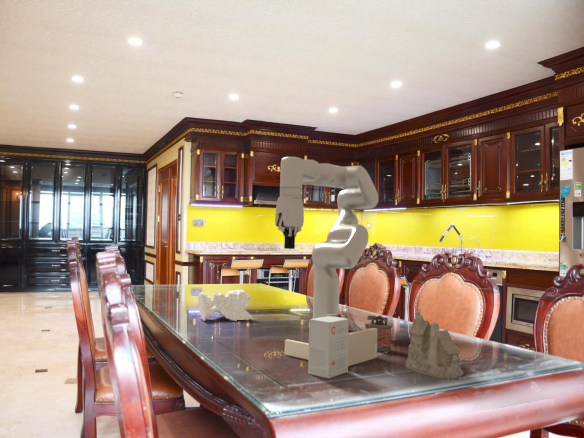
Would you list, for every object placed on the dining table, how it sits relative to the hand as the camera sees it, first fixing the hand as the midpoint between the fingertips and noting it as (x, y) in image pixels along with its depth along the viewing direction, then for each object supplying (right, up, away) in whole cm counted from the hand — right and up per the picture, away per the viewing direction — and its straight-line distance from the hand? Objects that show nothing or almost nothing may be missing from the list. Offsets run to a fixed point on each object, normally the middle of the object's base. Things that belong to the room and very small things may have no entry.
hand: (289, 248), depth 164 cm
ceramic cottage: (+38, -29, -38) cm, 61 cm away
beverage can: (+12, -28, -29) cm, 42 cm away
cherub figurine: (-26, -30, +31) cm, 51 cm away
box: (+12, -28, -28) cm, 41 cm away
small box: (+9, -27, -46) cm, 54 cm away
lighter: (+26, -29, -17) cm, 43 cm away
